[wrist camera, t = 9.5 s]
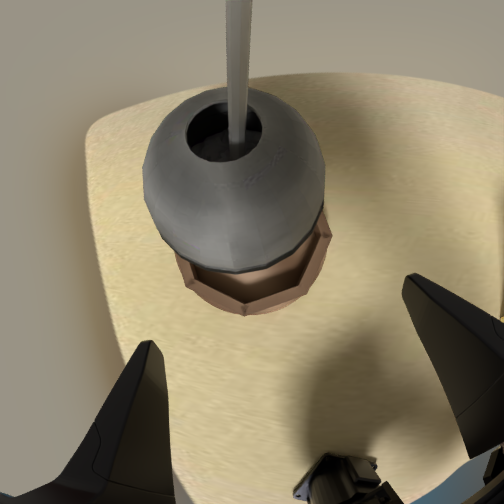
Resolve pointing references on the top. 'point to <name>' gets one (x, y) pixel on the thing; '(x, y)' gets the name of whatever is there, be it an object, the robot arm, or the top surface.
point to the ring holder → (262, 279)
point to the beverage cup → (234, 170)
